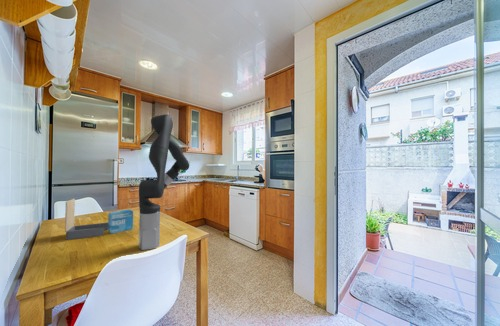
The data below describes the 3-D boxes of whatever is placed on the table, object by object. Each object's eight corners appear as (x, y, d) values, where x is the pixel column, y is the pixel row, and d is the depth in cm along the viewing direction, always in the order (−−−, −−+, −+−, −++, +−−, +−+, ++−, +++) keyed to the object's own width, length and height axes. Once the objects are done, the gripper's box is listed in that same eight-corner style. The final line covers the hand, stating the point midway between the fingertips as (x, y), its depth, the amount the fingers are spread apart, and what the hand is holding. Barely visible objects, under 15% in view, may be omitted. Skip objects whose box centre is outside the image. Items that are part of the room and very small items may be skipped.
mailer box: (103, 235, 106) (104, 199, 107) (64, 240, 99) (65, 201, 99) (108, 229, 115) (108, 196, 116) (72, 233, 108) (73, 198, 108)
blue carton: (109, 234, 108) (110, 213, 108) (107, 232, 111) (108, 212, 111) (133, 229, 117) (133, 210, 117) (130, 227, 120) (131, 209, 120)
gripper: (159, 176, 130) (139, 195, 124) (159, 178, 118) (137, 199, 112) (168, 184, 132) (148, 202, 127) (168, 186, 120) (147, 207, 115)
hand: (143, 201), depth 119 cm, fingers closed
